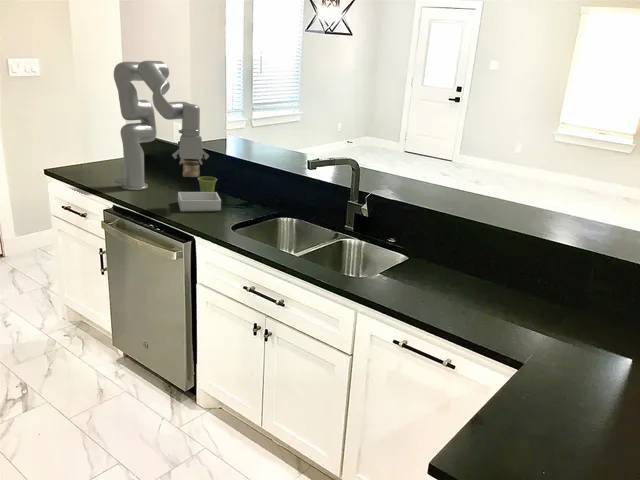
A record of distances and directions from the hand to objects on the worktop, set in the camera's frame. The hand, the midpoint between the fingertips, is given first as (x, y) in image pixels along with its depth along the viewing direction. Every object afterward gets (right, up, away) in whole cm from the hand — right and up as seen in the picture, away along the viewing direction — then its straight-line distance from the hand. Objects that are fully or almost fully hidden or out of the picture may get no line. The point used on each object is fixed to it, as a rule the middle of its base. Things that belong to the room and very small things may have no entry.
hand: (190, 172), depth 246 cm
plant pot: (+2, -9, +24) cm, 26 cm away
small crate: (0, -1, 0) cm, 1 cm away
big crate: (+2, -15, +6) cm, 17 cm away
